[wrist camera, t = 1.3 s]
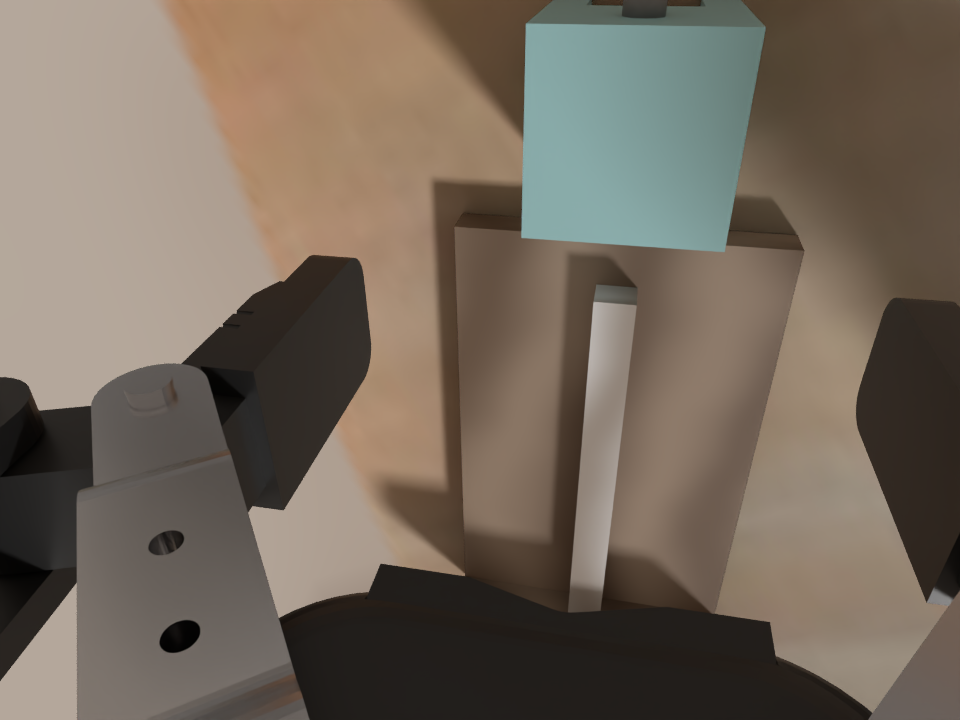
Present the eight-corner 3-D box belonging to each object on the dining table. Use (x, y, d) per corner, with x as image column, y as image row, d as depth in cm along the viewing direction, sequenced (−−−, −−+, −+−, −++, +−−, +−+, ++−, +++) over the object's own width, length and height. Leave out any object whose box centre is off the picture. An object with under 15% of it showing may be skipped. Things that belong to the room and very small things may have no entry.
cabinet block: (743, -26, 23) (771, -4, 17) (710, 177, 27) (724, 252, 21) (558, -27, 24) (526, -7, 18) (550, 169, 28) (521, 237, 22)
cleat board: (797, 235, 27) (828, 308, 22) (706, 617, 39) (713, 721, 34) (462, 213, 29) (423, 275, 24) (471, 579, 41) (446, 672, 36)
